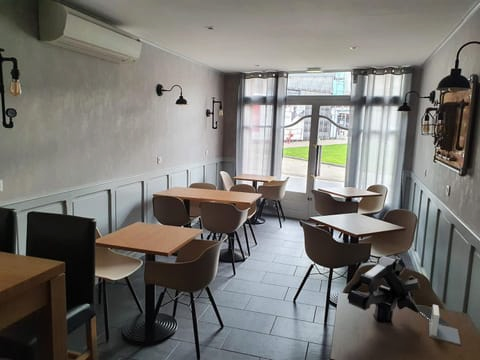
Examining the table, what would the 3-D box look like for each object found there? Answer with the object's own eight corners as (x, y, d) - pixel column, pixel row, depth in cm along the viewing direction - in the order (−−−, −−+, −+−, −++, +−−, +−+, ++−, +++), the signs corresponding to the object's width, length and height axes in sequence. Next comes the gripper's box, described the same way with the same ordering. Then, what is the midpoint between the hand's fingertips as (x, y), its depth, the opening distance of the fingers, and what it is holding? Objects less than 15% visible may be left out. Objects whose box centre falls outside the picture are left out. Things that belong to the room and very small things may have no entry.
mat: (429, 336, 146) (429, 335, 146) (428, 322, 157) (428, 321, 157) (460, 345, 141) (460, 344, 141) (457, 330, 152) (457, 329, 152)
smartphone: (434, 324, 155) (412, 305, 171) (434, 326, 155) (411, 307, 171) (449, 323, 156) (425, 305, 172) (449, 326, 156) (425, 307, 172)
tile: (430, 334, 147) (433, 314, 145) (430, 323, 156) (433, 304, 154) (436, 336, 146) (439, 316, 144) (435, 324, 155) (438, 305, 153)
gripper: (409, 280, 144) (436, 312, 141) (409, 265, 161) (433, 294, 158) (386, 293, 149) (411, 325, 146) (389, 278, 166) (412, 306, 162)
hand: (418, 312), depth 153 cm, fingers closed
